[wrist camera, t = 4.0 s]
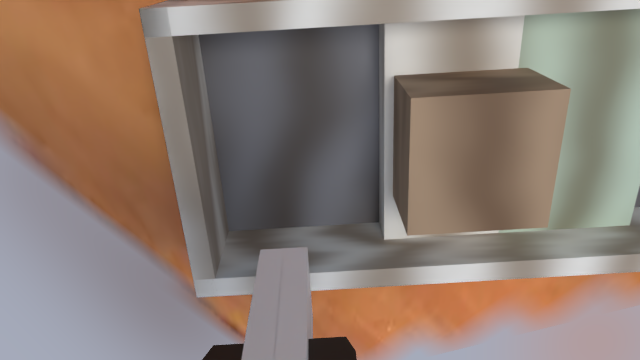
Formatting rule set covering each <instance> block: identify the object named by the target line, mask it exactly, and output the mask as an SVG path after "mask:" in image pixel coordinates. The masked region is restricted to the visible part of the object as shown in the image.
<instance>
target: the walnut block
mask: <svg viewBox="0 0 640 360" xmlns="http://www.w3.org/2000/svg"><path fill="white" fill-rule="evenodd" d="M570 92H571V89H570V88H568V87H566V86H564V85H562V84H560V83H558V82H556V81H554V80H552V79H550V78H548V77H546V76H544V75H542V74H540V73H538V72H536V71H534V70H532V69H530V68H514V69H497V70H480V71H463V72H446V73H429V74H412V75H395V76H394V127H393V197H394V200H395V203H396V206H397V208H398V211H399V214H400V217H401V220H402V222H403V225H404V228H405V231H406V233H407V236H410V235H427V234H444V233H461V232H478V231H495V230H513V229H530V228H547V227H548V222H549V217H550V211H551V205H552V199H553V193H554V187H555V181H556V175H557V169H558V163H559V157H560V151H561V146H562V140H563V134H564V128H565V122H566V116H567V110H568V104H569V98H570Z"/></svg>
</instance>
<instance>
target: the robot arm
mask: <svg viewBox="0 0 640 360" xmlns="http://www.w3.org/2000/svg"><path fill="white" fill-rule="evenodd" d="M203 360H357V359H356V351H355V349H354V348H353V346H352V345H351V343H350V342H349V341H348V339H347V338H346V337H333V338H315V339H313V314H312V301H311V288H310V275H309V262H308V248H307V247H298V248H281V249H263V250H260V255H259V260H258V266H257V272H256V278H255V283H254V289H253V295H252V301H251V307H250V312H249V318H248V324H247V330H246V336H245V341H244V344H231V345H214V346H213V347H212V348H211V349H210V350H209V352H208V353H207V354H206V356H205V357H204V358H203Z"/></svg>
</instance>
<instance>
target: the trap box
mask: <svg viewBox="0 0 640 360" xmlns="http://www.w3.org/2000/svg"><path fill="white" fill-rule="evenodd" d="M139 12H140V17H141V22H142V27H143V32H144V37H145V42H146V47H147V52H148V57H149V62H150V67H151V72H152V77H153V82H154V87H155V92H156V97H157V102H158V107H159V112H160V116H161V121H162V126H163V131H164V136H165V141H166V146H167V151H168V156H169V161H170V166H171V171H172V176H173V181H174V186H175V191H176V196H177V201H178V206H179V211H180V216H181V221H182V226H183V231H184V236H185V241H186V246H187V251H188V256H189V261H190V266H191V271H192V276H193V281H194V286H195V291H196V296H197V297H214V296H231V295H248V294H253V289H254V283H255V278H256V272H257V266H258V260H259V255H260V250H263V249H281V248H298V247H307V248H308V262H309V275H310V288H311V291H317V290H334V289H351V288H368V287H385V286H402V285H419V284H437V283H454V282H471V281H488V280H505V279H522V278H540V277H557V276H574V275H591V274H608V273H625V272H640V0H168V1H164V2H161V3H157V4H154V5H151V6H147V7H144V8H140V9H139ZM514 68H530V69H532V70H534V71H536V72H538V73H540V74H542V75H544V76H546V77H548V78H550V79H552V80H554V81H556V82H558V83H560V84H562V85H564V86H566V87H568V88H570V89H571V92H570V98H569V104H568V110H567V116H566V122H565V128H564V134H563V140H562V146H561V151H560V157H559V163H558V169H557V175H556V181H555V187H554V193H553V199H552V205H551V211H550V217H549V222H548V227H547V228H530V229H513V230H495V231H478V232H461V233H444V234H427V235H410V236H407V233H406V231H405V228H404V225H403V222H402V220H401V217H400V214H399V211H398V208H397V206H396V203H395V200H394V197H393V127H394V76H395V75H412V74H429V73H446V72H463V71H480V70H497V69H514Z"/></svg>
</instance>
